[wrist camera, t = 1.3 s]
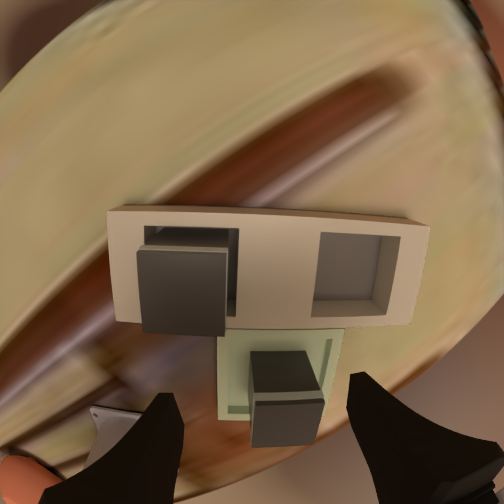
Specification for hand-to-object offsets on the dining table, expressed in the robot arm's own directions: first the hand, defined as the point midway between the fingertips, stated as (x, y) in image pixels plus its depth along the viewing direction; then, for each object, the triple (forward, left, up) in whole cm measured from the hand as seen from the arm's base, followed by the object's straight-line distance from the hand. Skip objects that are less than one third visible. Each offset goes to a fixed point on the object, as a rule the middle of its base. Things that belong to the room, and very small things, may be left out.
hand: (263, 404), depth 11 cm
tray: (-6, -2, -11) cm, 13 cm away
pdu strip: (+3, -1, -11) cm, 11 cm away
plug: (-6, -2, -10) cm, 12 cm away
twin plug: (+3, +4, -10) cm, 11 cm away
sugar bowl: (-33, +30, -11) cm, 46 cm away
